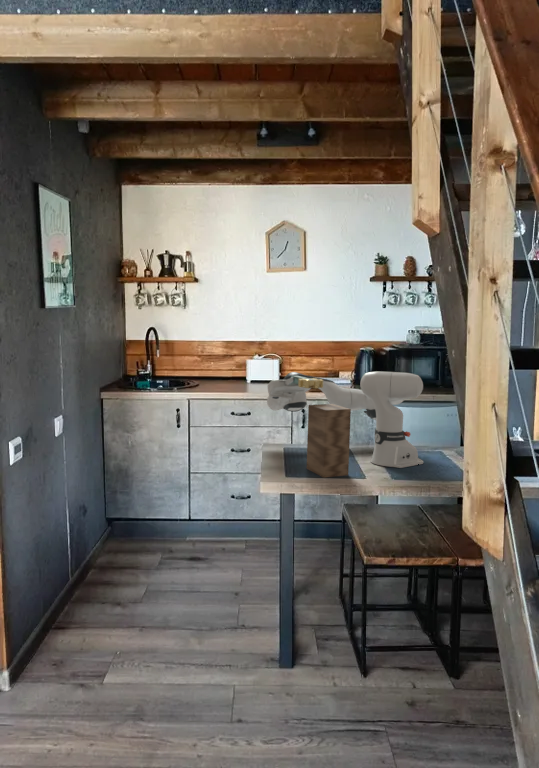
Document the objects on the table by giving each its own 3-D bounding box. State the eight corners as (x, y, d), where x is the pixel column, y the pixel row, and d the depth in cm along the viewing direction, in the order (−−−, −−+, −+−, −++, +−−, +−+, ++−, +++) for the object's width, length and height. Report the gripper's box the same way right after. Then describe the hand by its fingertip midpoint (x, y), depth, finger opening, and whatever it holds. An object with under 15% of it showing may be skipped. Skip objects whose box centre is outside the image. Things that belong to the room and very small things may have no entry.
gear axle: (304, 382, 252) (304, 375, 252) (327, 387, 233) (328, 380, 232) (283, 382, 248) (283, 375, 248) (305, 388, 229) (305, 381, 228)
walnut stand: (330, 466, 233) (332, 403, 230) (348, 475, 220) (350, 409, 218) (306, 468, 229) (308, 404, 226) (323, 477, 216) (325, 410, 213)
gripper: (307, 396, 261) (320, 384, 249) (266, 398, 253) (278, 385, 241) (304, 384, 263) (317, 371, 252) (264, 385, 255) (275, 372, 243)
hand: (297, 378), depth 246 cm, fingers closed on gear axle, 3 cm apart
